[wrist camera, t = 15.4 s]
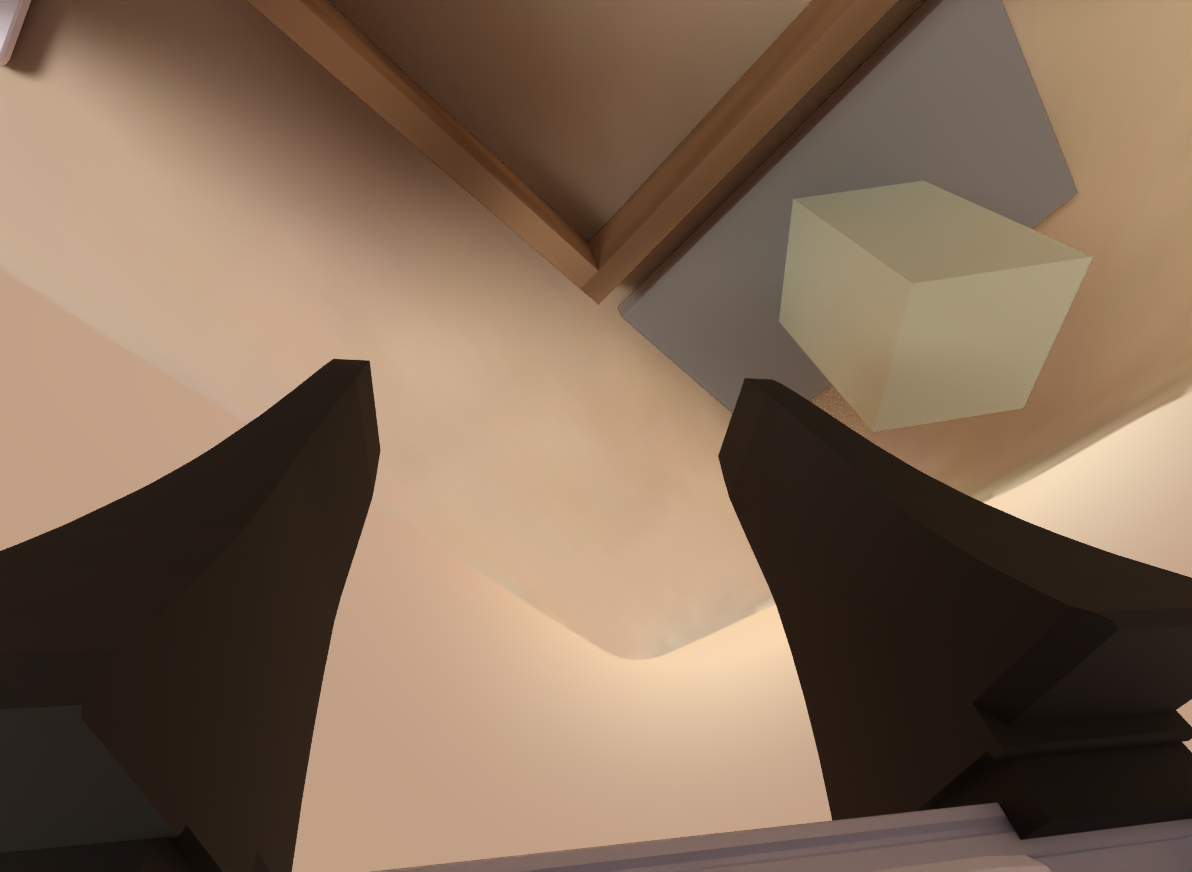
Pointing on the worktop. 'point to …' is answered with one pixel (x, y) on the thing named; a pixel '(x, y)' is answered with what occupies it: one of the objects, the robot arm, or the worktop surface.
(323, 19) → the walnut tray
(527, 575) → the worktop surface
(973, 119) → the slate board
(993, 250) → the olive beige rectangular block
